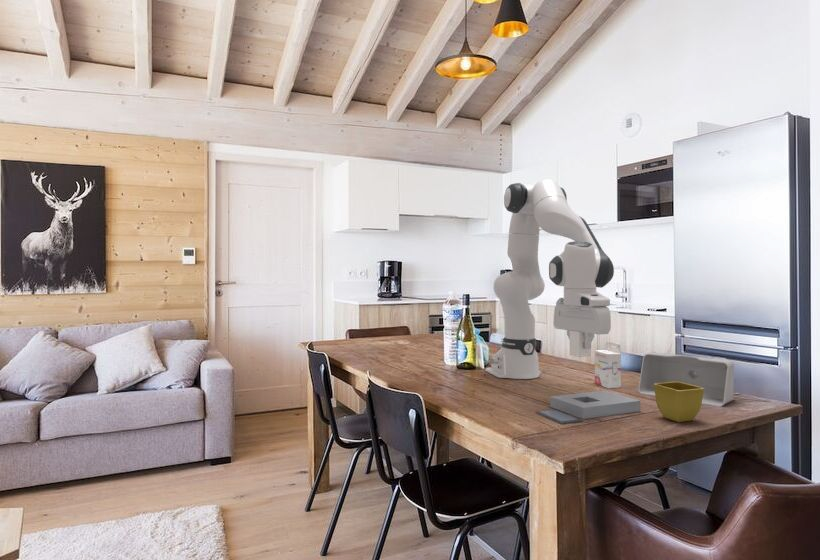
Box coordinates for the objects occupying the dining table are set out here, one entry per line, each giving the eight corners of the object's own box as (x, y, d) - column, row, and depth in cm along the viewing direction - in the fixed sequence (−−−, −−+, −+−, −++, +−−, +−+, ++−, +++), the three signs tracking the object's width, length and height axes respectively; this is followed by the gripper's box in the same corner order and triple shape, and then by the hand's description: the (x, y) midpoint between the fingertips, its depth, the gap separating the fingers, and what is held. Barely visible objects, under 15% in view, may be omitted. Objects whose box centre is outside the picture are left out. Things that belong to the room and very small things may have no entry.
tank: (740, 398, 167) (740, 358, 167) (723, 407, 156) (724, 364, 156) (657, 386, 185) (657, 349, 185) (637, 393, 174) (637, 354, 174)
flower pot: (704, 422, 140) (705, 387, 140) (678, 425, 138) (679, 390, 137) (677, 413, 149) (678, 381, 149) (652, 416, 146) (652, 383, 146)
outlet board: (550, 406, 156) (550, 396, 156) (604, 400, 164) (604, 390, 164) (583, 419, 143) (583, 407, 143) (640, 411, 151) (640, 400, 151)
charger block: (569, 355, 154) (569, 328, 154) (581, 354, 155) (580, 327, 155) (579, 357, 150) (578, 329, 150) (590, 356, 152) (590, 329, 152)
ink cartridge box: (593, 383, 189) (593, 341, 188) (606, 382, 190) (606, 341, 190) (608, 388, 180) (608, 344, 180) (621, 388, 182) (621, 344, 181)
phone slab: (535, 415, 150) (535, 411, 150) (554, 413, 152) (554, 409, 152) (562, 426, 139) (562, 422, 138) (582, 424, 141) (582, 420, 141)
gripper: (548, 297, 161) (548, 344, 161) (595, 300, 142) (596, 352, 142) (565, 297, 163) (565, 342, 163) (614, 299, 144) (615, 351, 145)
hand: (580, 347), depth 153 cm, fingers closed on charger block, 4 cm apart
